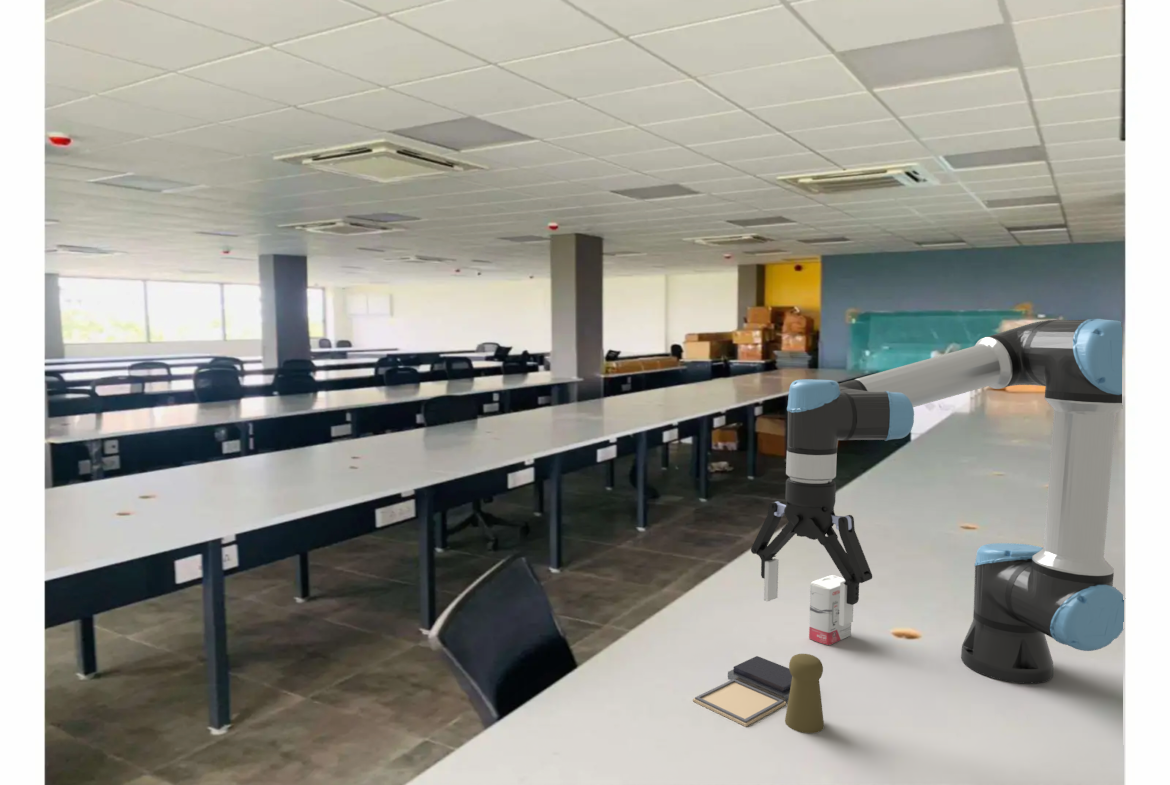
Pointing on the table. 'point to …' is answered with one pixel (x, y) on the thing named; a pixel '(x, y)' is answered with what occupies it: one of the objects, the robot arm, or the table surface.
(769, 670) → the ink pad
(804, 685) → the olive chess pawn
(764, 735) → the table surface
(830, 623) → the ink box
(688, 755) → the table surface
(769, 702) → the print card
